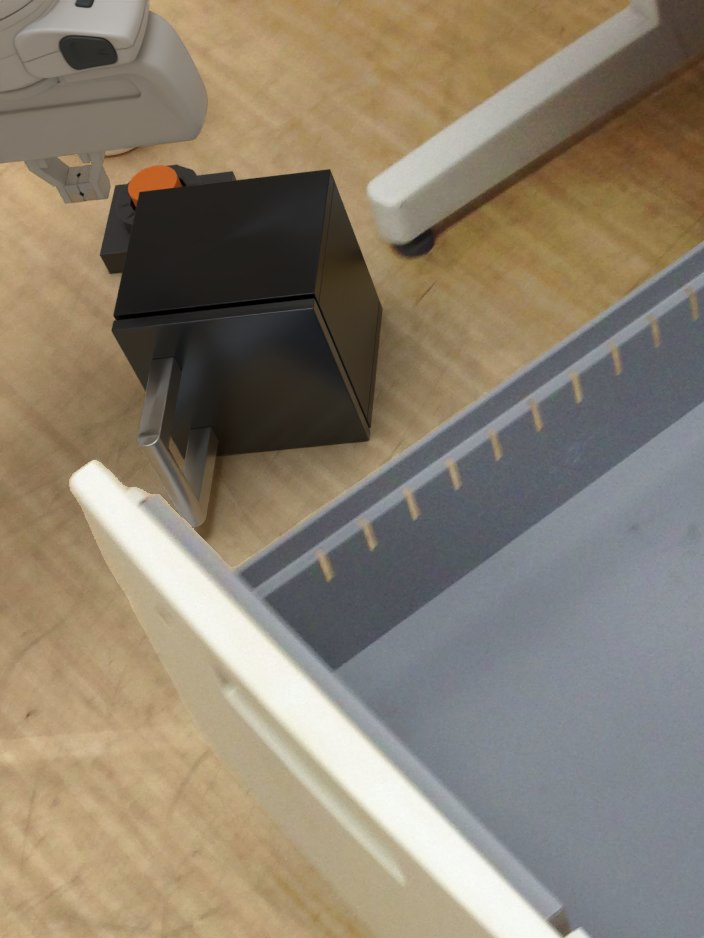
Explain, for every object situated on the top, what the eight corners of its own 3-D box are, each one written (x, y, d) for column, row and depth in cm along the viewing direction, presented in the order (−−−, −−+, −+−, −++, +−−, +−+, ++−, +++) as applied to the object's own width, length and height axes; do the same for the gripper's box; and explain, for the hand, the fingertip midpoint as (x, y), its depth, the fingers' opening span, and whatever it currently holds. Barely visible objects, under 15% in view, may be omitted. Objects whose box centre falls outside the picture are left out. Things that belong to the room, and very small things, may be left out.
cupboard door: (360, 527, 126) (301, 398, 114) (168, 545, 127) (91, 420, 116) (370, 430, 131) (314, 297, 119) (185, 449, 132) (112, 319, 121)
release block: (110, 274, 144) (90, 238, 141) (125, 204, 148) (106, 168, 145) (230, 261, 143) (213, 224, 139) (241, 191, 147) (225, 153, 144)
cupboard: (371, 428, 131) (314, 293, 119) (186, 447, 132) (112, 315, 121) (383, 308, 137) (330, 168, 126) (206, 327, 139) (138, 191, 127)
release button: (132, 219, 142) (124, 203, 140) (140, 184, 144) (131, 168, 143) (181, 214, 141) (173, 197, 140) (188, 179, 144) (180, 162, 142)
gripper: (-173, 78, 109) (-68, 245, 120) (153, 36, 107) (228, 210, 118) (-149, 12, 112) (-50, 180, 124) (167, -30, 110) (239, 145, 122)
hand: (89, 195), depth 121 cm, fingers closed
